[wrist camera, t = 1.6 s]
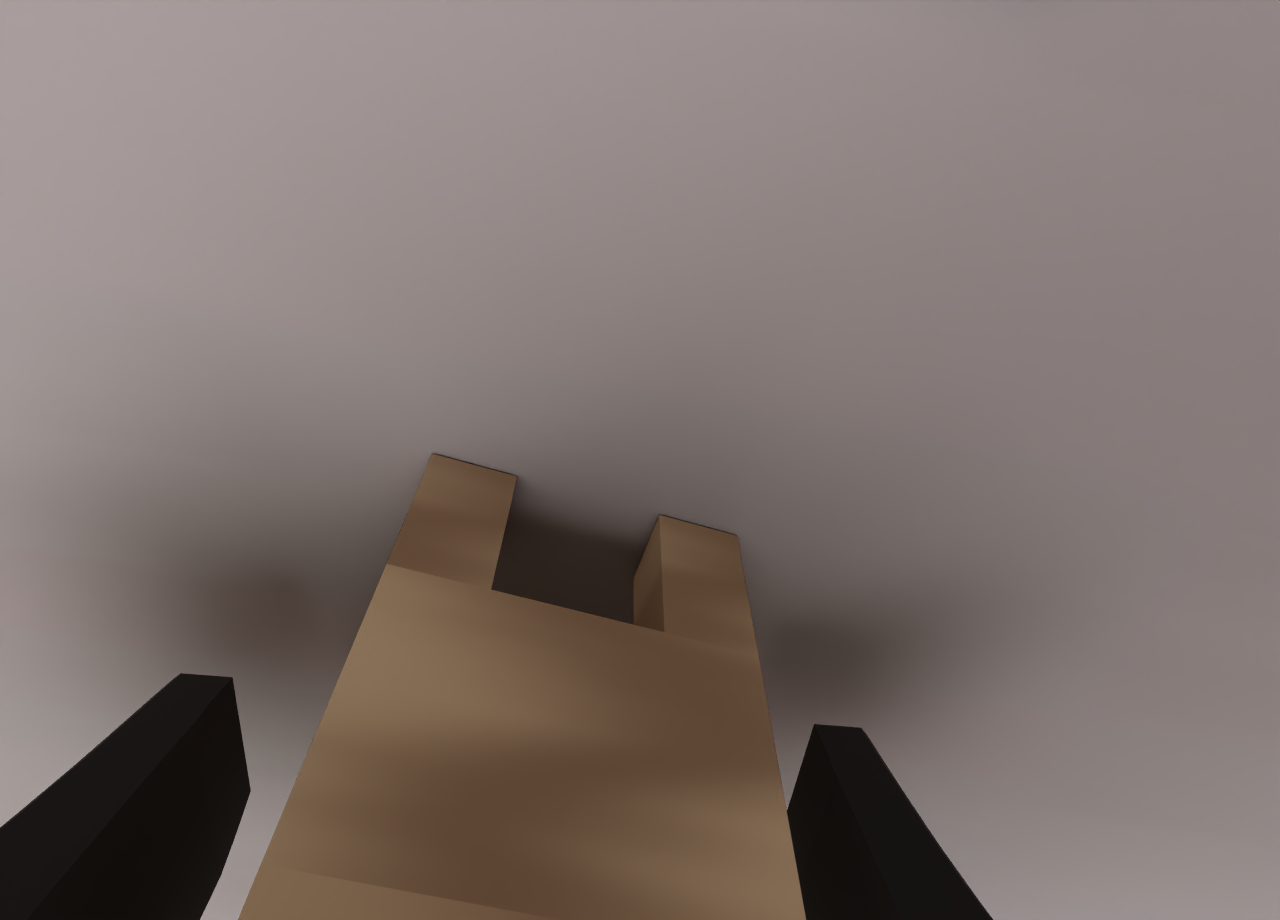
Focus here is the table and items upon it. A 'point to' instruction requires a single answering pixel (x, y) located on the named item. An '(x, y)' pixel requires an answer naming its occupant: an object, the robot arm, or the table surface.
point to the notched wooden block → (538, 743)
